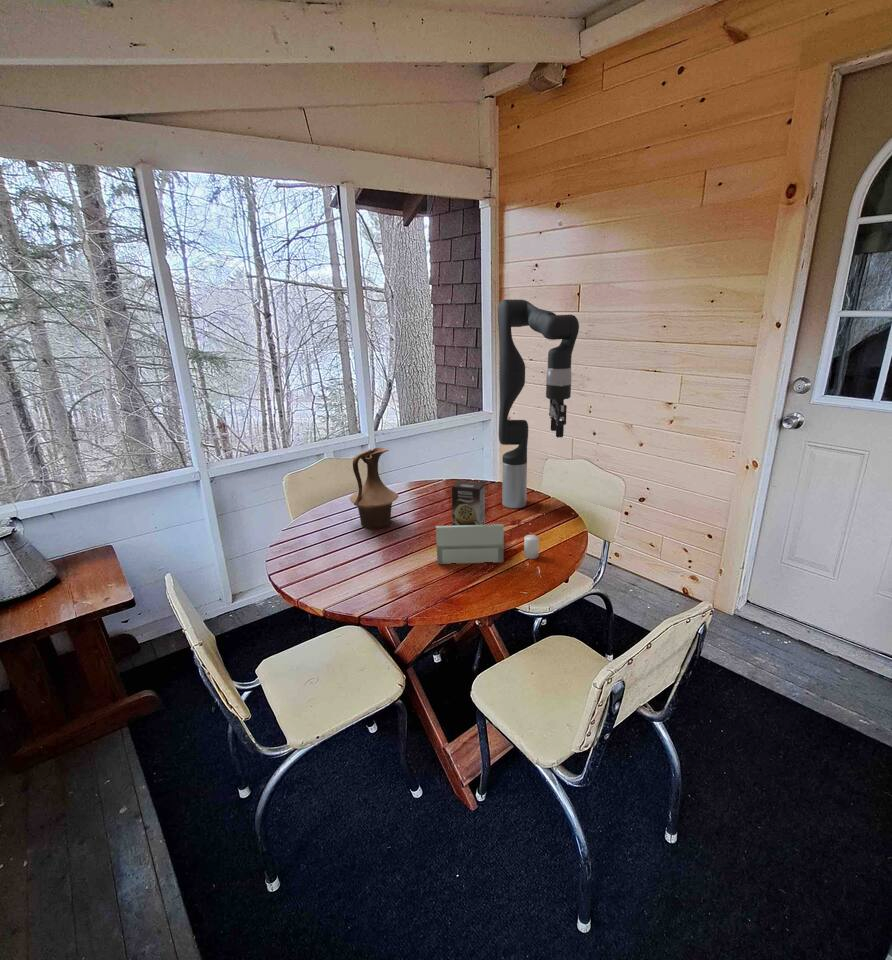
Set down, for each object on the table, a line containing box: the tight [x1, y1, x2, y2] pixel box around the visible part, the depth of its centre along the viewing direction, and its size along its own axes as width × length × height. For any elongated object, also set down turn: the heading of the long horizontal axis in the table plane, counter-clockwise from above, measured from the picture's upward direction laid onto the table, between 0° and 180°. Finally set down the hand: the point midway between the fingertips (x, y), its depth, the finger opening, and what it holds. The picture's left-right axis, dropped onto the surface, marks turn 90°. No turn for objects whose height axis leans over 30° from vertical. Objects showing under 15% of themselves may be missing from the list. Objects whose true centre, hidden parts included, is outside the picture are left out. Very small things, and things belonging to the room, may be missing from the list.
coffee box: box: [451, 480, 486, 526], centre depth 159 cm, size 9×6×16 cm
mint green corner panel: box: [435, 523, 505, 565], centre depth 160 cm, size 14×20×12 cm
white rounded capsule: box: [523, 534, 540, 560], centre depth 158 cm, size 4×4×6 cm
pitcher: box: [349, 447, 399, 530], centre depth 182 cm, size 18×17×28 cm
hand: (556, 433), depth 164 cm, fingers open, 8 cm apart
